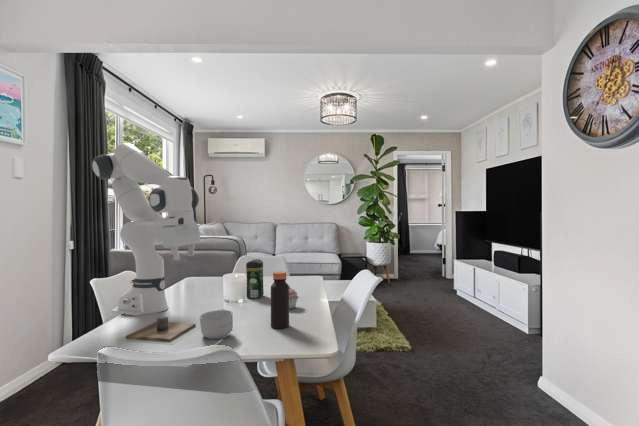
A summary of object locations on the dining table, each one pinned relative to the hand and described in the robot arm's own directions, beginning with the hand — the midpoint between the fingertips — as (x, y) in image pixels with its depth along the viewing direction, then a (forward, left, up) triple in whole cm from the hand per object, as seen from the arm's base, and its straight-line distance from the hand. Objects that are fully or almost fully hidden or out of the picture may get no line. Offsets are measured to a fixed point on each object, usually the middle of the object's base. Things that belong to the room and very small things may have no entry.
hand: (184, 257), depth 132 cm
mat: (-4, -7, -26) cm, 27 cm away
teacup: (+16, -5, -26) cm, 31 cm away
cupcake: (+30, +34, -26) cm, 52 cm away
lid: (-4, -7, -25) cm, 26 cm away
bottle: (+34, +8, -26) cm, 43 cm away
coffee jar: (+8, +51, -26) cm, 58 cm away
